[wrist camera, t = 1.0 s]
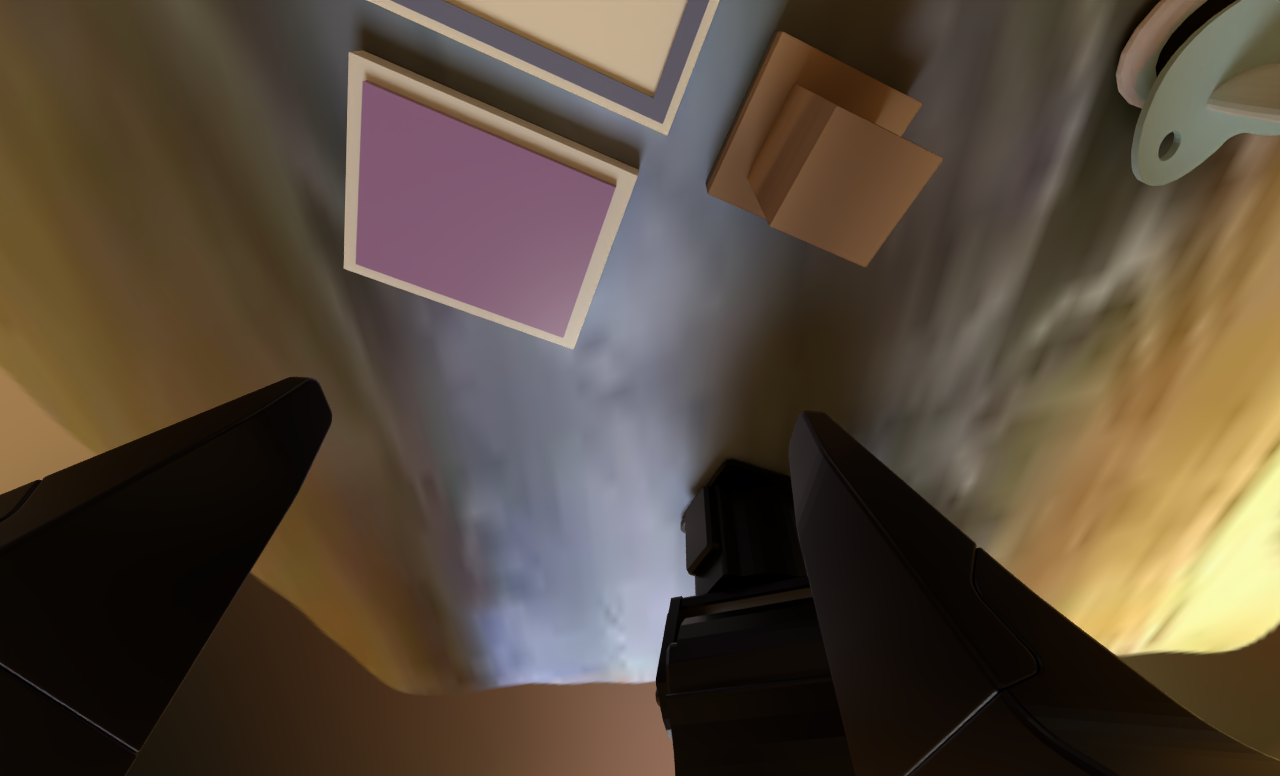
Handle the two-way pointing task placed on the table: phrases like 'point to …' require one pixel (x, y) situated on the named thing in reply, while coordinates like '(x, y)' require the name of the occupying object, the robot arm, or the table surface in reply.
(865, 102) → the stamp
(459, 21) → the marked card
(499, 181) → the ink pad
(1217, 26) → the pacifier
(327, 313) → the table surface
